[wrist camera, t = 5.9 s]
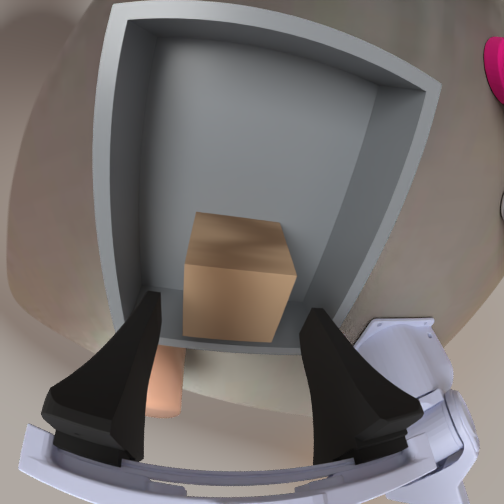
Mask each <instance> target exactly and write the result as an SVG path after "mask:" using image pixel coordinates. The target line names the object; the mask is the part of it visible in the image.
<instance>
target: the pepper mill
mask: <svg viewBox="0 0 504 504" xmlns="http://www.w3.org/2000/svg"><path fill="white" fill-rule="evenodd" d="M484 65H485V71H486V75H487V79H488V82H489V85H490V87H491V89H492V91H493V93H494V95H495V96H496V97H497V99H498V100H499V101H500V102H501V103H502V104H504V38H503V37H491V38H490V39H489V40H488V41H487V43H486V45H485V48H484Z"/></svg>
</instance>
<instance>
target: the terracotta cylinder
mask: <svg viewBox="0 0 504 504" xmlns="http://www.w3.org/2000/svg"><path fill="white" fill-rule="evenodd" d="M185 353H186V348H180V347H173V346H165V345H158V347H157V351H156V355H155V359H154V363H153V367H152V371H151V375H150V379H149V385H148V392H147V401H146V411H145V416H148V417H154V418H172V417H176V416H178V415H179V414H180V413H181V399H182V387H183V375H184V364H185Z"/></svg>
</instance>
